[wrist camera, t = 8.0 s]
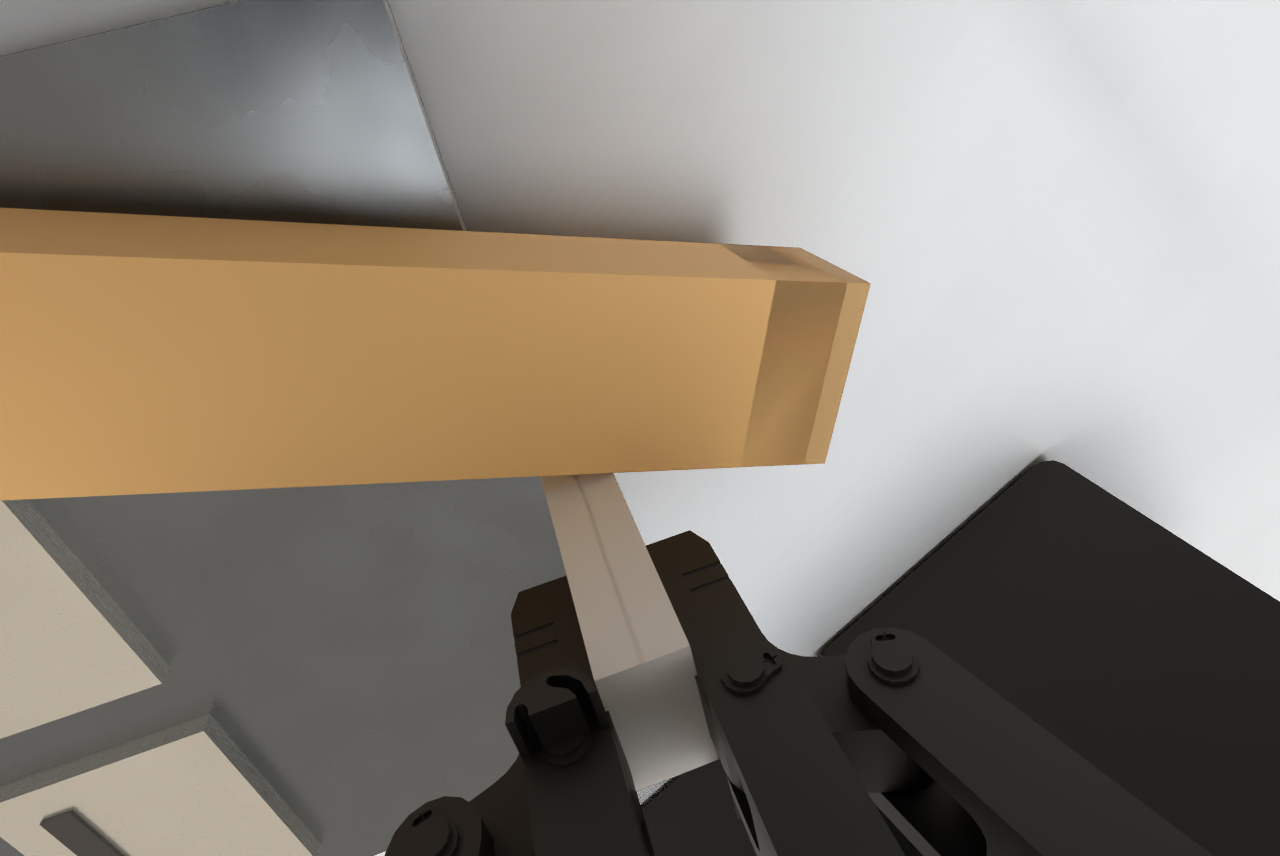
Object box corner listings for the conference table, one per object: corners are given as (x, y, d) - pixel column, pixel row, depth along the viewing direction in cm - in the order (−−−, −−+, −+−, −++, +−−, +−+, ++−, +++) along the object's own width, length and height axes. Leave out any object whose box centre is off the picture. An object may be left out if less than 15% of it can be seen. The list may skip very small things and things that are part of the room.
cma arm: (-288, 419, 12) (-499, 523, 9) (-421, 184, 10) (-729, 225, 8) (765, 401, 18) (824, 463, 15) (796, 246, 16) (870, 283, 13)
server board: (-756, 248, 12) (-1046, 292, 10) (380, -19, 14) (369, -35, 12) (93, 908, 24) (57, 998, 22) (631, 706, 26) (649, 769, 24)
